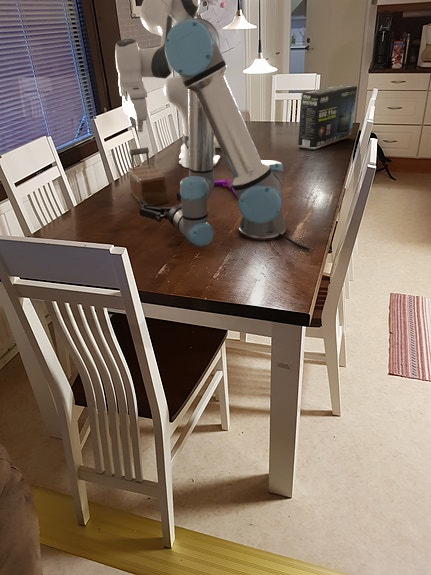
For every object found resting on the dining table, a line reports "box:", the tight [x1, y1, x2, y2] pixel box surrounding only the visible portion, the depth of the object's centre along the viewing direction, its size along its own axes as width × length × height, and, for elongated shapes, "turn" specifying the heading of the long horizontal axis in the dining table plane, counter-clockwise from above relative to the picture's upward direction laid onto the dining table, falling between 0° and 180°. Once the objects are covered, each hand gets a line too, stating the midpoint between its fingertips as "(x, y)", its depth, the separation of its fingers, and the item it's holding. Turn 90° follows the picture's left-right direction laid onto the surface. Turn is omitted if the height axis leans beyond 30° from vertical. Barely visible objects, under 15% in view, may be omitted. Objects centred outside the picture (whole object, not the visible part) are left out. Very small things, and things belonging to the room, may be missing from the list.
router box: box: [297, 84, 358, 151], centre depth 238 cm, size 36×11×27 cm, turn 134°
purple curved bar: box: [214, 178, 237, 197], centre depth 184 cm, size 21×8×2 cm, turn 11°
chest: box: [128, 171, 168, 207], centre depth 179 cm, size 17×10×9 cm, turn 24°
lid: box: [127, 147, 166, 183], centre depth 175 cm, size 18×10×9 cm, turn 24°
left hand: (136, 129), depth 174 cm, fingers open, 8 cm apart
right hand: (159, 199), depth 162 cm, fingers open, 13 cm apart
